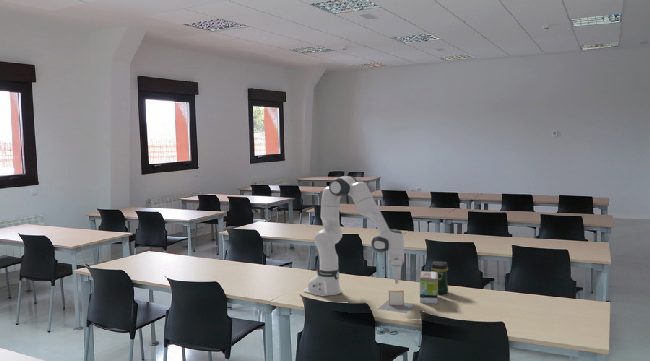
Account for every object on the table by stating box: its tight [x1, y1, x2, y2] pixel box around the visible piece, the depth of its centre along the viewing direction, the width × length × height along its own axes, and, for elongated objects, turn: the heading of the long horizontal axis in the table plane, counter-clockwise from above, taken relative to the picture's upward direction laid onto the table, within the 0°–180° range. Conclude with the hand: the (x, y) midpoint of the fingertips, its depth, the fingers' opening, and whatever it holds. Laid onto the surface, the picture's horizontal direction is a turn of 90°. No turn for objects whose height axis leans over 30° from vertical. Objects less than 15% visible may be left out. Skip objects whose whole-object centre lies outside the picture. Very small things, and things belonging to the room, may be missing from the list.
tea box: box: [419, 270, 439, 305], centre depth 294 cm, size 15×10×15 cm, turn 168°
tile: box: [388, 289, 405, 306], centre depth 284 cm, size 2×8×8 cm, turn 83°
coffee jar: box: [430, 260, 449, 295], centre depth 307 cm, size 10×8×19 cm
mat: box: [377, 299, 416, 314], centre depth 282 cm, size 16×16×1 cm
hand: (396, 283), depth 289 cm, fingers closed
